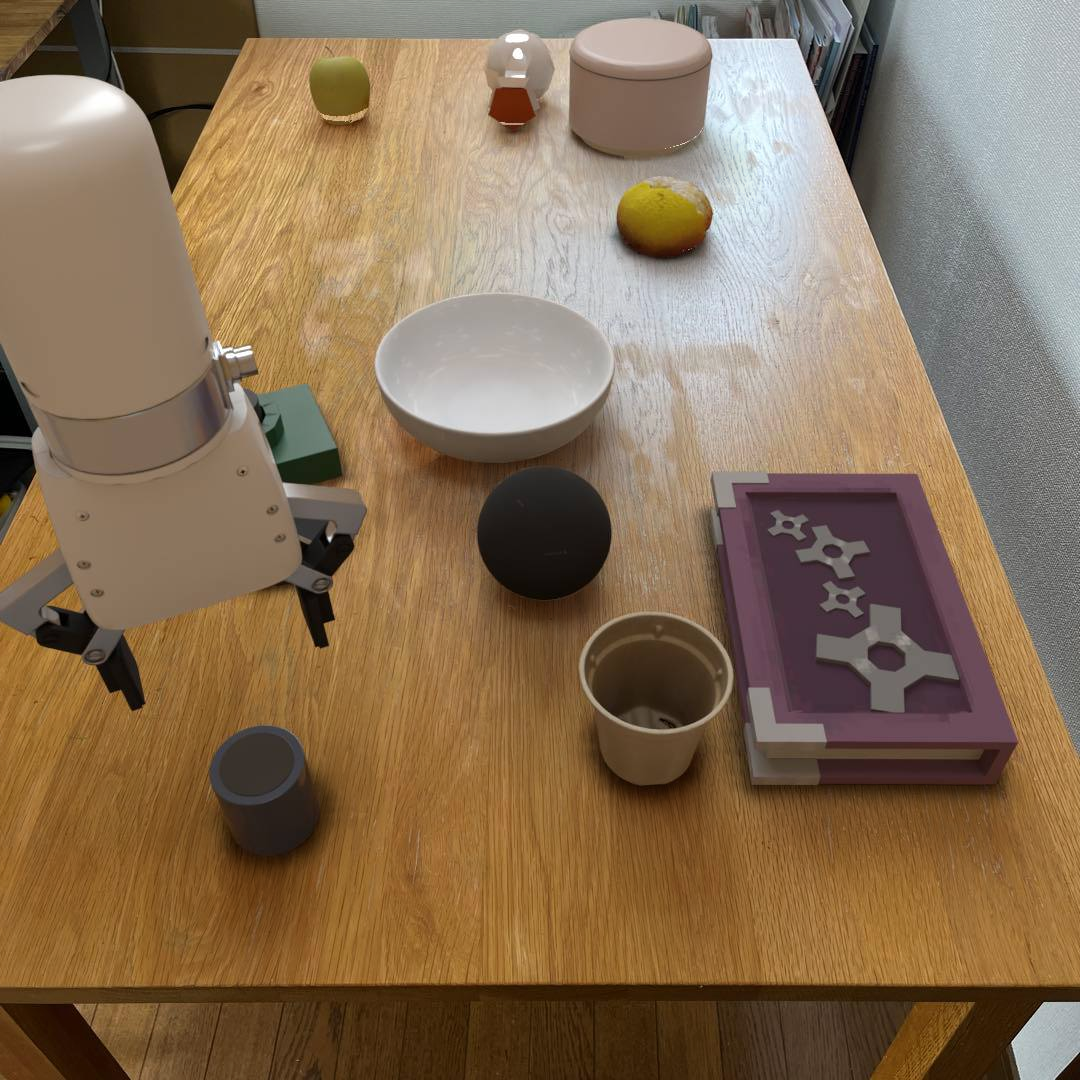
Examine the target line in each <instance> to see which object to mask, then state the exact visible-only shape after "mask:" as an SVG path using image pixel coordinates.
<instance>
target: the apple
mask: <svg viewBox="0 0 1080 1080" xmlns="http://www.w3.org/2000/svg"><path fill="white" fill-rule="evenodd" d="M324 47H325V49H327V50H328V51H329V53H330V54H331V55H332V56H322V57H319V58H317V60H316V61H314V63H313V64H312V66H311V69H310V72H309V75H308V76H309V78H308V82H309V84H308V85H309V91H310V94H311V95H310V96H311V98H312V101H313V104H314V106H315V108H316V110H317V112H318V111H319V112H320V113H322V114H324V115H329V116H336V117H337V116H348V115H351V114H355V113H358V112H360V111H363V110H364V109H366V108H368V109H369V107H370V99H371V98H370V97H371V80H370V76H369V73H368V71H367V69H366V68H365V66H364V64H363V63H362V62H361V61H360V60H359V59H357V58H355V57H352V56H347V55H346V56H345V55H344V56H334V53H333V52H332V51H331V49H330V48H329V47H328V46H327V45H325V46H324ZM368 106H369V107H368ZM319 112H318V113H319ZM322 119H323V120H324V121H325V122H327V123H329V124H330V125H332V126H333V125H335V126H346V125H350V124H351V123H350V122H351V121H352V120H350V122H349V121H346V122H345V121H332V120H326V119H324V118H322ZM349 123H350V124H349Z"/></svg>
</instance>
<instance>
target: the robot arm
mask: <svg viewBox="0 0 1080 1080" xmlns="http://www.w3.org/2000/svg"><path fill="white" fill-rule="evenodd" d="M0 345H1V347H2V349H3V352H4V354H5V356H6V359H7V361H8V363H9V365H10V367H11V370H12V371H13V373H14V376H15V379H16V380H17V382H18V385H19V387H20V389H21V391H22V393H23V395H24V398H25V400H26V402H27V404H28V407H29V408H30V410H31V414H32V415H33V418H34V419H35V422H36V424H37V426H38V427H36V429H35V431H34V432H33V434H32V436H31V450H32V457H33V461H34V467H35V472H36V475H37V479H38V483H39V487H40V490H41V494H42V497H43V500H44V503H45V507H46V510H47V513H48V517H49V521H50V523H51V526H52V529H53V532H54V535H55V538H56V541H57V544H58V546H59V547H57V548H56V549H55V550H54V551H52V552H50V553H49V554H48V555H47V556H46V557H44V558H43V559H42V560H40V561H39V562H37V563H36V564H35V565H34V566H32V567H31V568H30V569H28V570H27V571H26V572H25V573H23V574H22V575H21V576H20V577H18V578H17V579H15V580H14V581H13V582H11V583H10V584H9V585H8V586H6V587H5V588H4V589H2V590H1V591H0V622H1V623H2V624H4V625H5V626H8V627H10V628H11V629H13V630H16V631H17V632H19V633H21V634H23V635H24V636H30V637H32V638H34V639H36V643H37V644H38V645H39V646H41V647H43V648H47V649H50V650H55V651H60V652H65V653H69V654H73V655H77V656H78V655H79V656H81V661H82V662H83V663H84V664H86V665H89V666H95V668H96V670H97V671H98V674H99V676H100V677H101V680H102V681H103V683H104V685H105V688H106V689H107V691H108V692H109V694H112V693H113V694H114V693H116V692H120V691H121V693H122V696H123V697H124V699H125V701H126V703H127V705H128V707H129V709H130V711H131V712H135V711H138V710H141V709H142V708H143V706H144V705H146V699H145V693H144V689H143V684H142V680H141V676H140V675H141V674H140V670H139V666H138V663H137V661H136V658H135V656H134V654H133V652H132V650H131V648H130V646H129V643H128V641H127V639H126V637H125V635H124V633H125V632H126V630H131V629H136V628H141V627H145V626H147V625H148V626H149V625H151V624H155V623H158V622H161V621H165V620H169V619H173V618H175V617H178V616H182V615H185V614H188V613H191V612H194V611H195V612H196V611H198V610H201V609H204V608H208V607H211V606H213V605H217V604H220V603H223V602H226V601H230V600H233V599H236V598H240V597H242V596H245V595H248V594H251V593H254V592H257V591H260V590H263V589H266V588H269V587H273V586H272V585H274V584H277V583H279V582H281V581H283V580H284V581H287V582H289V583H288V584H292V585H294V587H295V590H296V595H297V599H298V602H299V606H300V610H301V612H302V615H303V618H304V621H305V624H306V626H307V629H308V632H309V634H310V637H311V640H312V642H313V644H314V647H315V649H316V648H319V649H320V650H321V649H325V648H327V647H330V643H329V639H328V635H327V631H326V627H325V624H327V623H331V622H333V621H336V617H335V613H334V609H333V604H332V601H331V597H330V593H329V591H330V590H331V589H332V588H333V586H334V579H333V576H334V575H335V574H336V572H338V570H339V569H340V568H341V566H342V565H343V564H344V563H345V561H346V560H347V559H348V558H349V557H350V556H351V554H352V553H353V551H354V550H355V543H354V541H355V538H356V536H358V534H359V532H360V530H361V527H362V526H363V523H364V521H365V517H366V515H367V513H368V507H367V505H366V503H365V501H364V499H363V496H362V495H361V493H360V491H359V490H357V489H354V488H345V487H334V486H325V485H316V484H315V485H314V484H312V485H305V484H294V483H284V482H282V480H281V477H280V474H279V471H278V469H277V466H276V463H275V460H274V457H273V454H272V451H271V448H270V445H269V443H268V440H267V438H266V435H265V433H264V431H263V428H262V426H261V423H260V421H259V419H258V416H257V414H256V412H255V410H254V408H253V406H252V404H251V403H250V401H249V399H248V397H247V395H246V394H245V392H244V390H243V389H242V388H243V387H242V386H241V384H240V383H242V382H243V379H245V378H251V377H253V376H257V375H259V369H258V366H257V362H256V358H255V354H254V352H253V349H252V346H251V344H250V343H248V344H244V345H240V346H236V347H235V346H234V347H233V346H232V345H231V344H229V345H225V346H222V344H221V342H220V339H219V340H214V341H213V336H212V333H211V328H210V325H209V322H208V319H207V315H206V310H205V308H204V304H203V301H202V297H201V293H200V291H199V286H198V283H197V280H196V275H195V273H194V269H193V266H192V262H191V258H190V256H189V252H188V248H187V245H186V241H185V236H184V234H183V230H182V227H181V224H180V220H179V216H178V213H177V209H176V206H175V201H174V199H173V194H172V192H171V188H170V185H169V181H168V178H167V174H166V171H165V167H164V163H163V160H162V155H161V153H160V149H159V145H158V143H157V140H156V137H155V134H154V132H153V129H152V126H151V123H150V121H149V120H148V117H147V116H146V114H145V113H144V111H143V110H142V108H141V107H140V106H139V104H138V103H137V102H136V101H135V100H134V99H133V98H132V97H131V96H130V95H129V94H127V93H126V92H125V91H124V90H122V89H121V88H118V87H117V86H115V85H113V84H110V83H108V82H106V81H103V80H101V79H98V78H94V77H89V76H82V75H74V74H73V75H72V74H68V75H67V74H43V75H41V74H40V75H32V76H23V77H19V78H18V77H17V78H11V79H7V80H3V81H0ZM294 518H298V519H311V520H324V521H329V522H327V523H326V524H325V525H324V526H323V528H322V529H321V530H320V531H319V533H318V534H317V535H316V536H315V538H314V539H313V540H312V541H311V540H308V539H306V538H304V537H302V536H300V535H298V533H297V529H296V525H295V521H294ZM72 585H74V588H75V589H76V592H77V594H78V597H79V599H80V601H81V603H82V605H81V607H80V608H79V610H78V611H75V610H71V609H68V608H64V607H58V606H55V605H48V604H49V603H51V602H52V601H53V600H54V599H55V598H57V597H58V596H60V595H61V594H63V592H64V591H66V590H67V589H69V588H70V587H71V586H72Z"/></svg>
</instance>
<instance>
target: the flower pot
mask: <svg viewBox="0 0 1080 1080" xmlns="http://www.w3.org/2000/svg"><path fill="white" fill-rule="evenodd" d="M578 677H579V682H580V686H581V688H582V691H583V693H584V695H585V697H586V699H587V701H588V702H589V703H590V705H591V707H592V708H593V710H594V711H593V712H594V716H595V721H596V728H597V733H598V740H599V750H600V753H601V756H602V758H603V761H604V763H605V764H606V766H607V767H608V768H609V769H610V771H612V772H613V773H614V774H615V775H616V776H617V777H619V778H620V779H622V780H624V781H626V782H627V783H631V784H633V785H636V786H643V787H644V786H651V785H666V784H670V783H671V782H673V781H675V780H676V779H678V778H679V777H681V776H682V775H684V773H685V772H686V771H687V769H688V768H689V766H690V765H691V763H692V760H693V756H694V754H695V752H696V750H697V747H698V745H699V743H700V741H701V739H702V737H703V734H704V732H705V730H706V728H707V725H709V723H710V722H711V721H713V720H714V719H715V718H716V717H717V716H718V715H720V713H721V712H722V711H723V710H724V708H725V707H726V705H727V703H728V701H729V699H730V697H731V695H732V691H733V687H734V669H733V663H732V661H731V658H730V656H729V654H728V652H727V650H726V649H725V647H724V646H723V644H722V642H721V641H720V640H719V639H718V638H717V637H716V636H715V635H713V633H712V632H710V631H709V630H708V629H706V628H705V627H703V626H702V625H700V624H699V623H696V621H693V620H692V619H689V618H686V617H684V616H681V615H679V614H673V613H670V612H663V611H651V610H649V611H646V610H645V611H636V612H632V613H626V614H623V615H620V616H618V617H615V618H612V619H611V620H609V621H608V622H606V623H604V624H603V625H602V626H600V627H599V628H597V629H596V631H594V632H593V634H592V635H591V636H590V637H589V638H588V640H587V641H586V643H585V645H584V647H583V648H582V651H581V655H580V658H579V664H578ZM661 720H664V721H666V722H668V723H670V724H672V725H673V726H674V728H670V727H669V726H668V725H667V724H666V723H663V722H662V721H661Z"/></svg>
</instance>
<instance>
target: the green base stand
mask: <svg viewBox="0 0 1080 1080" xmlns="http://www.w3.org/2000/svg"><path fill="white" fill-rule="evenodd" d="M255 394H256V395H257V397H258V400H259V405H260V409H261V413H262V422H261V426H262V428H263V431H264V433H265V435H266V438H267V440H268V443H269V445H270V448H271V451H272V454H273V457H274V460H275V463H276V466H277V469H278V471H279V474H280V477H281V480H282V482H284V483H294V484H305V485H314V484H315V485H316V484H318V483H323V482H326V481H329V480H334V479H336V478H341V477H343V476H344V475H343V470H342V464H341V458H340V453H339V448H338V445H337V443H336V441H335V439H334V437H333V435H332V433H331V430H330V428H329V426H328V423H327V422H326V419H325V417H324V415H323V413H322V411H321V409H320V406H319V404H318V402H317V399H316V398H315V396H314V394H313V392H312V389H311V387H310V384H309V383H308V382H305V383H302V384H297V385H293V386H288V387H285V388H281V389H277V390H273V391H269V392H264V393H255Z"/></svg>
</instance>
